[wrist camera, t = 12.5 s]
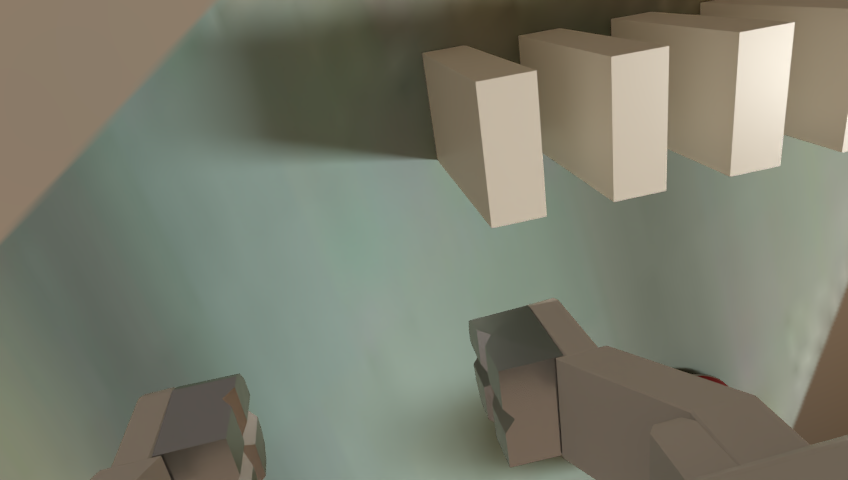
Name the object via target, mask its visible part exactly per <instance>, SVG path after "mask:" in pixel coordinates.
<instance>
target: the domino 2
mask: <svg viewBox="0 0 848 480" xmlns="http://www.w3.org/2000/svg"><path fill="white" fill-rule="evenodd" d="M518 39H519V52H520V64H521V65H523V66H526V67H529V68H531V69H534V70H537V81H538V96H539V111H540V125H541V140H542V153H543V154H545V155H546V156H548V157H549V158H551V159H552V160H554V161H555V162H556V163H558V164H559V165H561V166H562V167H564V168H565V169H567V170H568V171H570V172H571V173H572V174H574V175H575V176H577V177H578V178H580V179H581V180H583V181H584V182H585V183H587V184H588V185H590V186H591V187H593V188H594V189H596V190H597V191H599V192H600V193H601V194H603V195H604V196H606V197H607V198H609V199H610V200H612V201H613V202H616V201H621V200H625V199H630V198H635V197H639V196H644V195H648V194H653V193H658V192H662V191H666V178H667V131H668V84H669V46H667V45H661V44H655V43H649V42H643V41H636V40H630V39H624V38H618V37H612V36H606V35H599V34H593V33H587V32H581V31H575V30H569V29H563V28H557V29H552V30H546V31H541V32H535V33H530V34H524V35H519V36H518Z"/></svg>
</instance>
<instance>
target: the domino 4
mask: <svg viewBox="0 0 848 480" xmlns="http://www.w3.org/2000/svg"><path fill="white" fill-rule="evenodd" d="M700 15H704V16H718V17H732V18H746V19H760V20H773V21H787V22H795V27H794V36H793V46H792V56H791V66H790V75H789V85H788V95H787V105H786V114H785V124H784V134H783V135H787V136H790V137H793V138H797V139H800V140H803V141H806V142H810V143H813V144H816V145H820V146H823V147H826V148H829V149H833V150H836V151H839V152H846V151H848V0H713V1H707V2H702V3H700Z"/></svg>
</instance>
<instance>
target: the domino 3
mask: <svg viewBox="0 0 848 480" xmlns="http://www.w3.org/2000/svg"><path fill="white" fill-rule="evenodd" d="M794 27H795V22H787V21H773V20H760V19H746V18H732V17H718V16H704V15H690V14H677V13H663V12H646V13H641V14H635V15H630V16H624V17H619V18H613V19H611V36H612V37H618V38H624V39H630V40H636V41H643V42H649V43H655V44H661V45H667V46H669V84H668V131H667V149H669V150H671V151H673V152H676V153H678V154H680V155H682V156H685V157H687V158H689V159H691V160H694V161H696V162H698V163H700V164H703V165H705V166H707V167H709V168H712V169H714V170H716V171H719V172H721V173H723V174H725V175H728V176H730V177H731V176H735V175H740V174H745V173H749V172H754V171H758V170H763V169H768V168H772V167H777V166H780V163H781V153H782V144H783V134H784V124H785V114H786V105H787V95H788V85H789V75H790V66H791V56H792V46H793V36H794Z"/></svg>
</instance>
